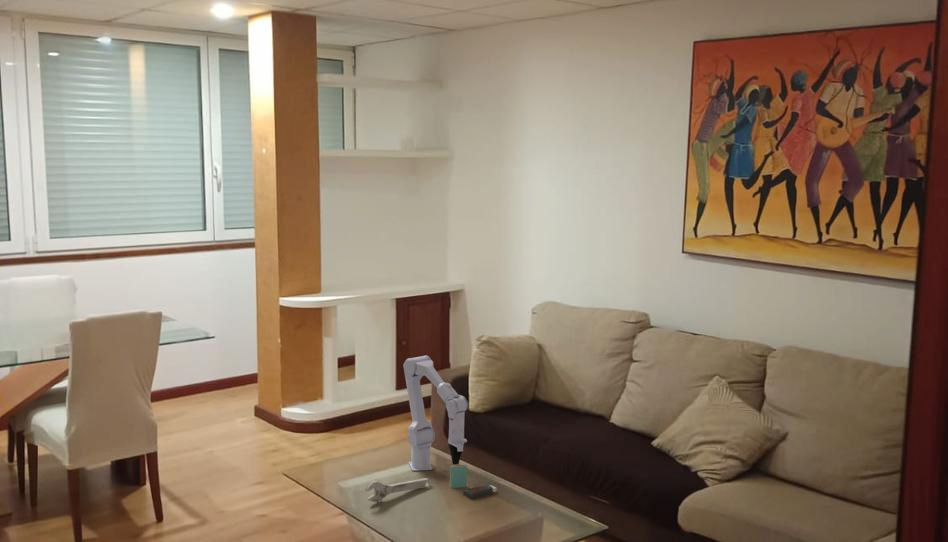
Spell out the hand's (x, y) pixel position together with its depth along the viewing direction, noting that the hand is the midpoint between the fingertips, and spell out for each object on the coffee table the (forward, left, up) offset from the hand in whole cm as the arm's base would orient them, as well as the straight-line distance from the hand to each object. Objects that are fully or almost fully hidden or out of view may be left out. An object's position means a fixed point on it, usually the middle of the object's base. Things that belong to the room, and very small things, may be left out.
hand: (455, 463), depth 307 cm
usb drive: (+13, +7, -8) cm, 17 cm away
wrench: (+9, -23, -7) cm, 26 cm away
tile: (+5, 0, -3) cm, 6 cm away
